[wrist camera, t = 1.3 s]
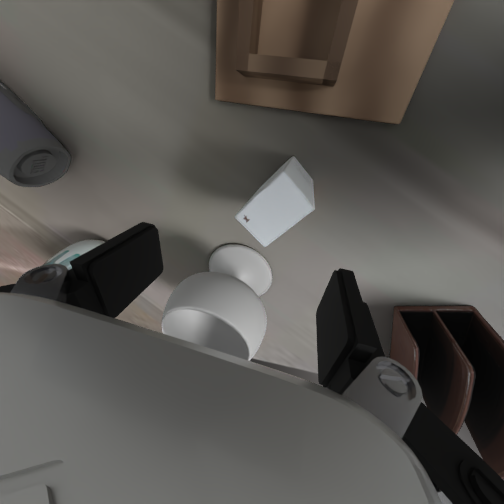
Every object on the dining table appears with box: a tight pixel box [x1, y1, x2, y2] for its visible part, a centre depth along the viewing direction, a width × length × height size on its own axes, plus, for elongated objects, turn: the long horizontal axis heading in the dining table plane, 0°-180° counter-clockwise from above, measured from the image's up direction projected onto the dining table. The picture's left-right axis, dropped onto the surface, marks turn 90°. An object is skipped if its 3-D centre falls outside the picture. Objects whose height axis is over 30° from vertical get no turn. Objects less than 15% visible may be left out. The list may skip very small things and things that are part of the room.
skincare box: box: [235, 156, 315, 247], centre depth 22 cm, size 6×4×12 cm
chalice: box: [162, 244, 272, 361], centre depth 31 cm, size 14×14×15 cm
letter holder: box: [390, 306, 504, 480], centre depth 29 cm, size 10×20×14 cm, turn 15°
